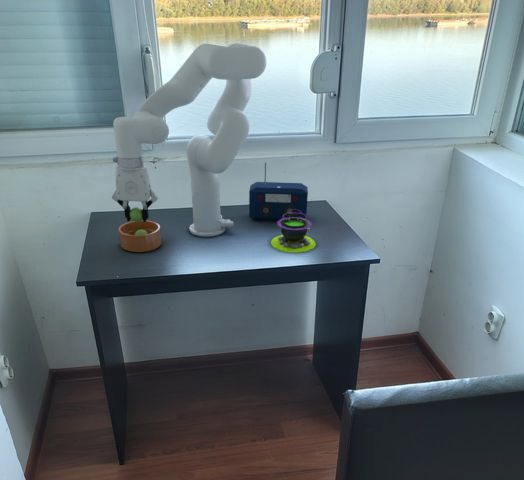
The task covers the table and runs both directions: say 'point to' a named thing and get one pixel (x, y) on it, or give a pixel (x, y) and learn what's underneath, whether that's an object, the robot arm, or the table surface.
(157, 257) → the table surface
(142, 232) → the pea ball
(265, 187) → the radio
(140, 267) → the table surface
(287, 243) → the toy cauldron
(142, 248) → the bowl
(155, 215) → the table surface
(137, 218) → the pea ball
